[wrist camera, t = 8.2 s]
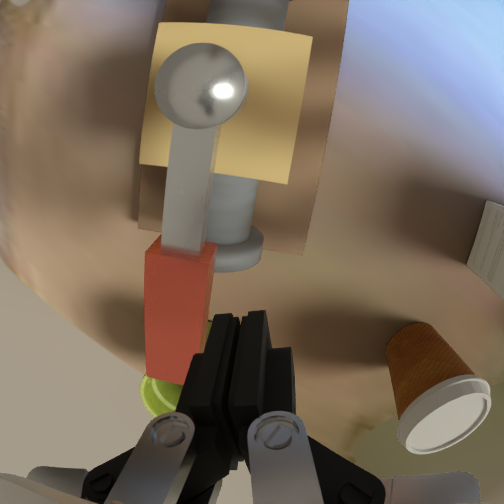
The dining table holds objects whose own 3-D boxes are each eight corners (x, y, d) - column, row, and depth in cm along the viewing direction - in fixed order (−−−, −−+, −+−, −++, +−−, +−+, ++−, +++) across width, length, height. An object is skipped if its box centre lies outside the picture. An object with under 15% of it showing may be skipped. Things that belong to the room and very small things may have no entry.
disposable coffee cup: (419, 293, 29) (473, 373, 18) (460, 334, 31) (506, 406, 20) (354, 354, 32) (379, 445, 21) (402, 386, 34) (430, 463, 23)
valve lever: (255, 59, 11) (252, 46, 9) (208, 361, 17) (201, 389, 15) (178, 51, 11) (161, 40, 9) (153, 349, 17) (141, 375, 15)
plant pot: (151, 346, 33) (124, 403, 25) (191, 288, 30) (166, 345, 22) (222, 386, 35) (211, 446, 27) (271, 337, 32) (271, 401, 24)
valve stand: (177, -17, 19) (118, -89, 8) (345, 2, 19) (395, -70, 8) (144, 223, 28) (70, 292, 16) (300, 248, 28) (319, 339, 16)
